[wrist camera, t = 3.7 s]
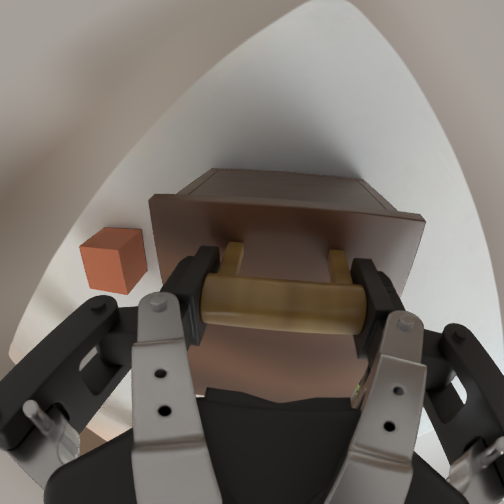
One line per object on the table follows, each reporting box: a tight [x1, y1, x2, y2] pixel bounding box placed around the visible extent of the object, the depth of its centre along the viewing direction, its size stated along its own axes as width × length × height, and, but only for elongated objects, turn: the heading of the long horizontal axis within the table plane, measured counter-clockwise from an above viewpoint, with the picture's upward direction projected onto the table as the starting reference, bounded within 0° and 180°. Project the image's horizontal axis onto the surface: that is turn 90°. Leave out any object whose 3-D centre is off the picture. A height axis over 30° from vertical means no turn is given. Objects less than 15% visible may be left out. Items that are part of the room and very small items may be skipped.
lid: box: [148, 194, 426, 403], centre depth 14 cm, size 16×13×5 cm
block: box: [79, 228, 147, 295], centre depth 25 cm, size 5×5×5 cm
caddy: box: [177, 168, 398, 211], centre depth 22 cm, size 16×13×9 cm
